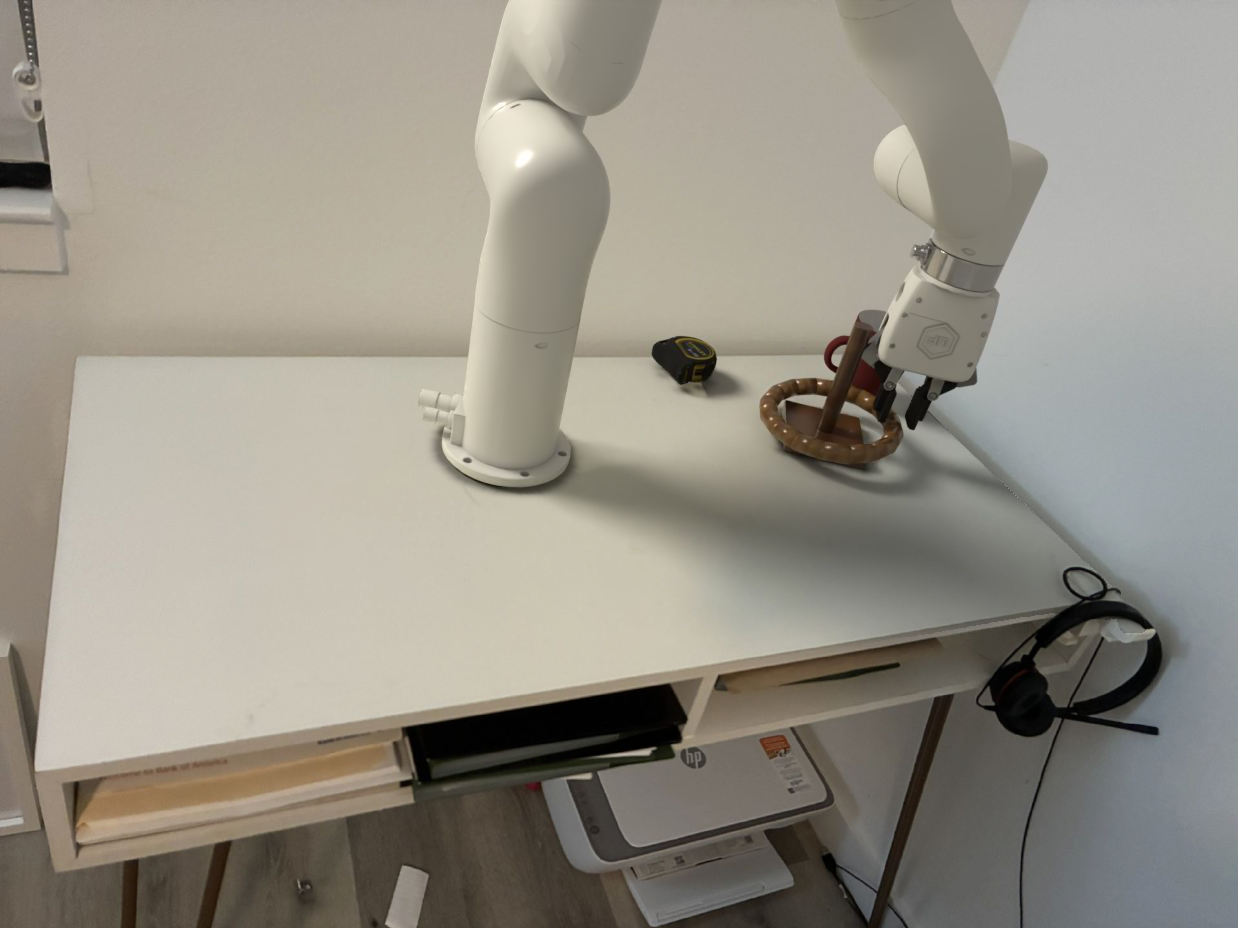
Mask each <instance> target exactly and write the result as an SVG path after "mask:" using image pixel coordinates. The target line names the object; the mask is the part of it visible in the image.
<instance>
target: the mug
mask: <svg viewBox="0 0 1238 928" xmlns="http://www.w3.org/2000/svg"><path fill="white" fill-rule="evenodd" d="M886 313H887V311H885V310H879V309H865V310H862V311H860V312H858V314H857V316H856V319H855V321H854V324H853V326H852V329H851V331H850V334H849V335H845V334H844V335H839V336H837V337H835V338H833V339H832V340H831V341H830V342H829V343H828V344H827V346H826V348H825V350H824V353H823V361H824V364H825V366H826V367H827V368H828V370H829V371H831V372H833V373H834V374H836V372H837V369H838V367H839V366H837V365H835V364H834V363H833V361H832V359H833V355H834V353H835V351H836V350H838V349H839V348H840V347H842V346H847V343H848V340H849V338H850V335H851V333H852V330H853V327H854V325H855V323H856V322H864V323H867V324H869V325H871V326H872V327H873V332H872V334H871V337H870V339H871V338H872V337H873V336H874V335H875V334H876V333H877V332H878V331H879V328H880V326H881V323H882V321H883V319H884V317H885V315H886ZM870 339H869V340H870ZM877 354H878V352H877ZM904 373H905V371H903V373H902V374H901V376H900V378H899V380H900V379H901V377H902V376H903V375H904ZM881 383H882V382H881V380H880V378H879V377H878V375H877V373H876V371H875V369H874V368H873V367H871V366H870V365H868V364H867V363H866V362H865V361H864V360H862V359H861V362H860V365H859V367H858V370H857V372H856V375H855V377H854V380H853V382H852V386H855V387H858V388H861V389H863V390H865V391H867V392H869V393H871V394H872V395H874V396H876V395H877V393H878V390H879V388H880V385H881Z"/></svg>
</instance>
